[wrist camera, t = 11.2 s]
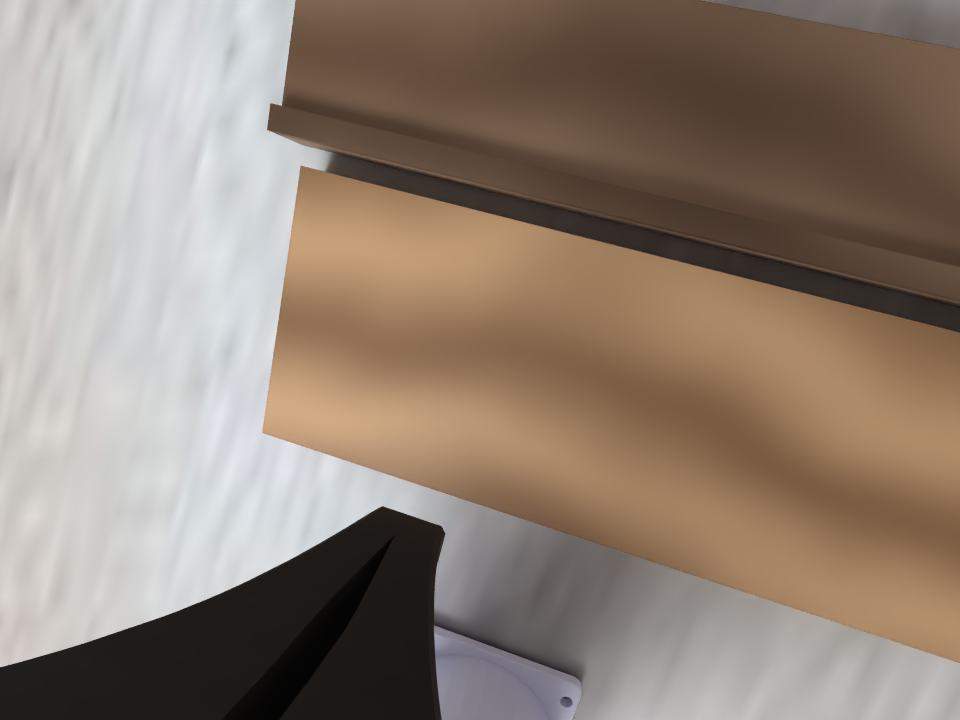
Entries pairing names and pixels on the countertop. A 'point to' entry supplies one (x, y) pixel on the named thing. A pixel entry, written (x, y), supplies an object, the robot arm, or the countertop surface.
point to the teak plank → (630, 402)
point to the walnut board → (654, 121)
